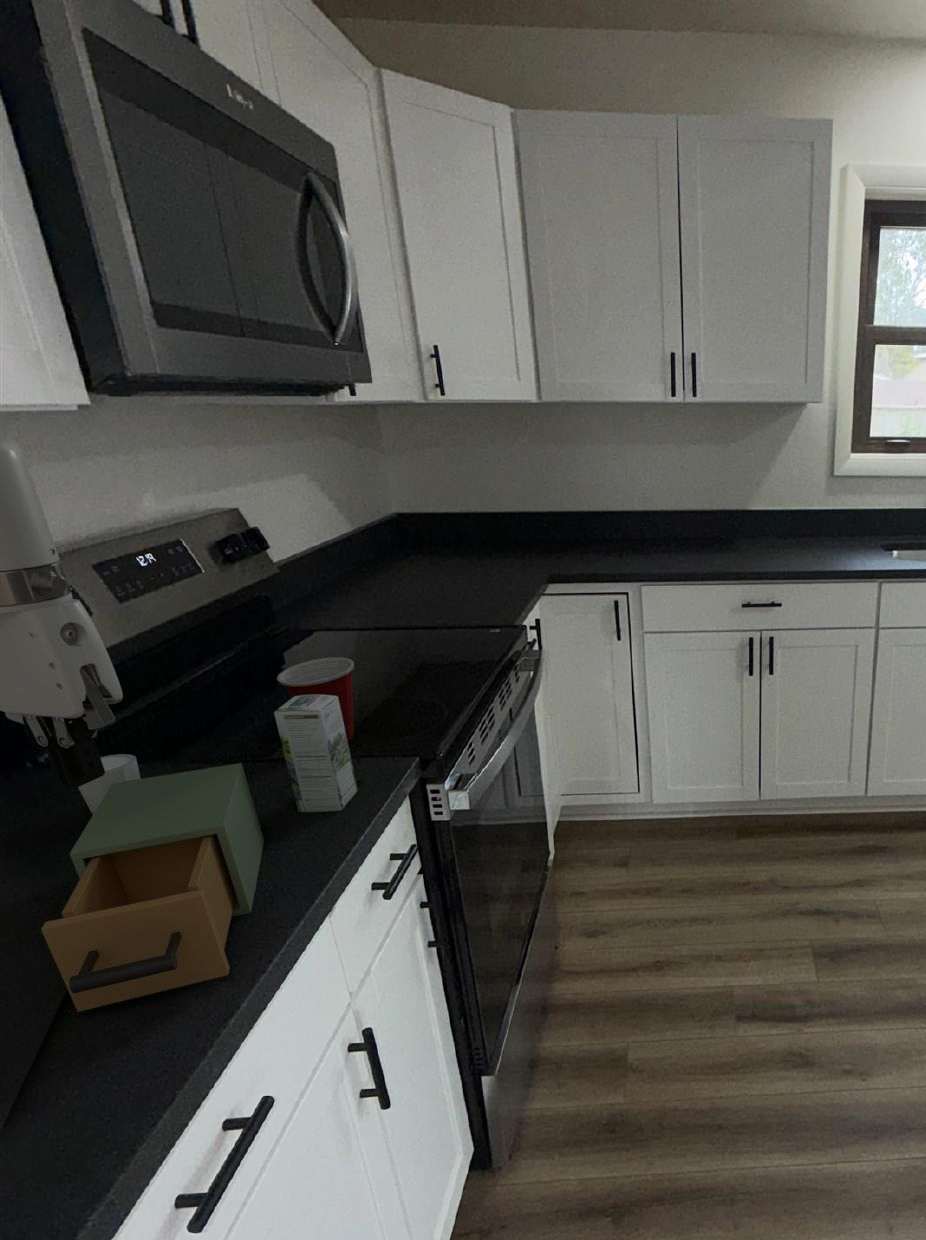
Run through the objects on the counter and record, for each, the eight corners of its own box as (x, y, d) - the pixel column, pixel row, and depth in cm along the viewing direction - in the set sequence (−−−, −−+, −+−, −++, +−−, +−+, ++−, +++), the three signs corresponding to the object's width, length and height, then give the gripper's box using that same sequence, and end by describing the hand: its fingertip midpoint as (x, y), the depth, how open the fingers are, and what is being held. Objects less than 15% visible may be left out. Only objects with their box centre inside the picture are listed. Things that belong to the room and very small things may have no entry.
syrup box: (316, 793, 110) (291, 694, 104) (360, 792, 110) (337, 693, 104) (298, 813, 105) (270, 710, 99) (344, 811, 105) (319, 708, 99)
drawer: (221, 1009, 70) (192, 926, 66) (60, 1050, 66) (20, 964, 62) (245, 889, 87) (223, 818, 83) (119, 916, 82) (90, 843, 79)
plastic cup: (280, 743, 126) (261, 670, 121) (345, 721, 134) (330, 653, 129) (317, 759, 120) (299, 683, 116) (383, 735, 129) (368, 664, 124)
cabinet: (251, 913, 84) (223, 825, 80) (106, 945, 80) (69, 853, 75) (264, 840, 98) (241, 762, 94) (141, 864, 93) (111, 783, 89)
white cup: (113, 828, 101) (94, 778, 98) (76, 820, 103) (56, 771, 100) (165, 804, 107) (149, 757, 104) (128, 797, 109) (111, 750, 106)
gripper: (124, 581, 70) (184, 770, 77) (-14, 575, 73) (56, 758, 80) (40, 601, 63) (114, 806, 71) (-109, 593, 66) (-23, 791, 73)
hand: (83, 780), depth 75 cm, fingers closed
